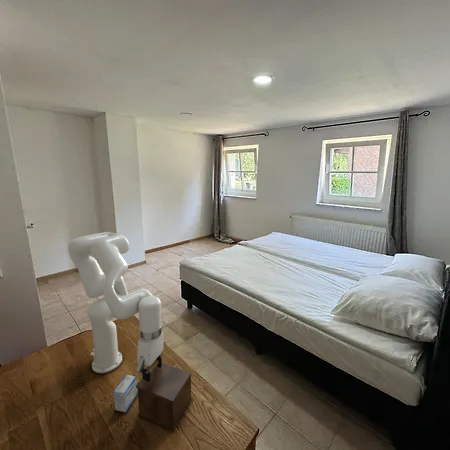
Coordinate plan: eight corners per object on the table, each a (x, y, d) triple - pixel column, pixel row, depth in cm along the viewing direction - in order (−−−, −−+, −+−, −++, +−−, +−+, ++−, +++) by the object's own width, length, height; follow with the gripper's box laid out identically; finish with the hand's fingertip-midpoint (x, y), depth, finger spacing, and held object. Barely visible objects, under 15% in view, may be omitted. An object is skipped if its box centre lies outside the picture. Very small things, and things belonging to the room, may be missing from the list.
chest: (139, 415, 89) (137, 388, 87) (159, 387, 101) (158, 363, 98) (173, 430, 84) (172, 403, 82) (191, 399, 96) (191, 374, 93)
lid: (135, 387, 87) (135, 375, 86) (157, 362, 98) (156, 351, 97) (172, 403, 82) (172, 391, 81) (191, 374, 93) (191, 363, 92)
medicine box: (125, 413, 90) (124, 393, 88) (115, 410, 91) (113, 391, 89) (137, 394, 98) (136, 376, 96) (127, 391, 98) (126, 373, 96)
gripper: (156, 315, 97) (158, 354, 101) (124, 343, 81) (127, 388, 85) (173, 320, 94) (173, 359, 98) (143, 350, 78) (145, 395, 82)
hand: (152, 372), depth 92 cm, fingers closed on lid, 6 cm apart
